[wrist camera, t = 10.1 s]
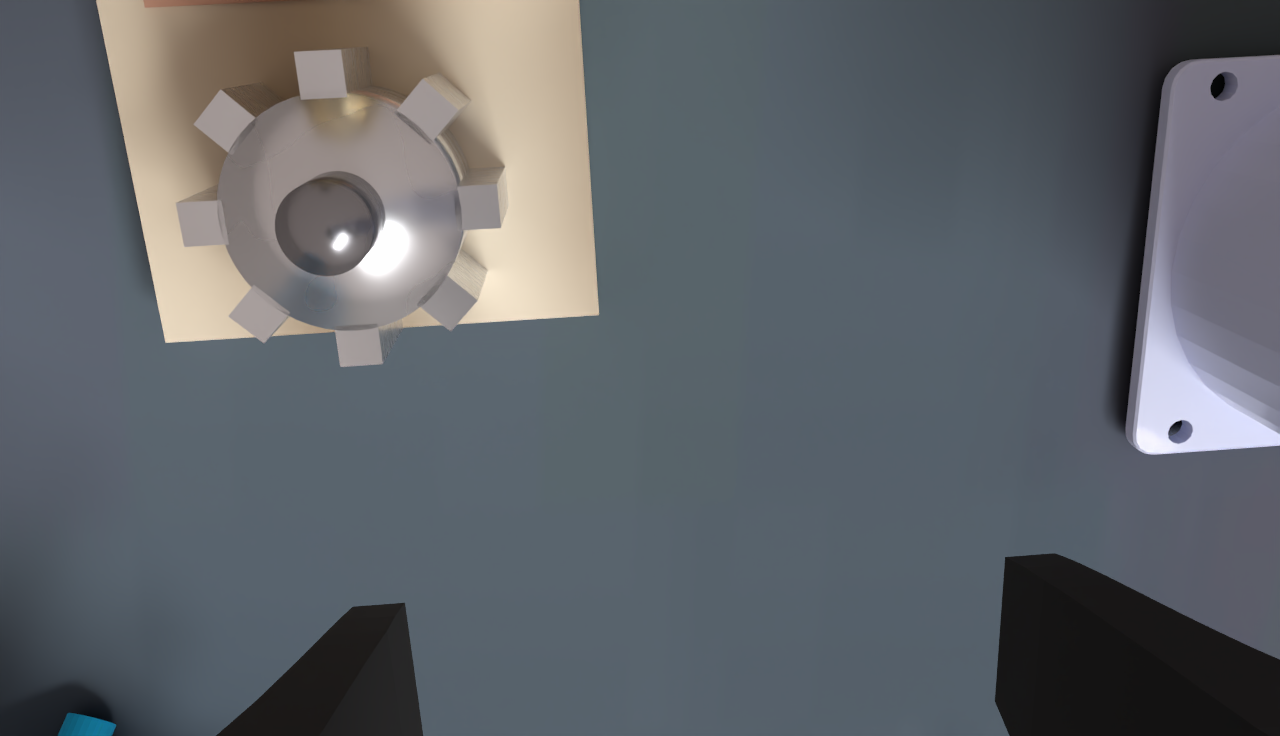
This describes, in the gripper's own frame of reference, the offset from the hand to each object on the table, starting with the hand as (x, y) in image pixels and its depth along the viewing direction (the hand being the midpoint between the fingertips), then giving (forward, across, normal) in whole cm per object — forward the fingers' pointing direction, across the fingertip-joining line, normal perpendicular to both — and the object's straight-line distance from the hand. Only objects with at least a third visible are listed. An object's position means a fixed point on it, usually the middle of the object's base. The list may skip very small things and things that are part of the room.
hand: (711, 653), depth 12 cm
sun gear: (+8, +5, -4) cm, 11 cm away
